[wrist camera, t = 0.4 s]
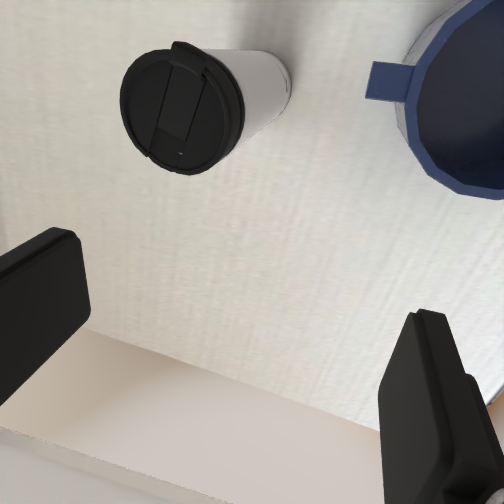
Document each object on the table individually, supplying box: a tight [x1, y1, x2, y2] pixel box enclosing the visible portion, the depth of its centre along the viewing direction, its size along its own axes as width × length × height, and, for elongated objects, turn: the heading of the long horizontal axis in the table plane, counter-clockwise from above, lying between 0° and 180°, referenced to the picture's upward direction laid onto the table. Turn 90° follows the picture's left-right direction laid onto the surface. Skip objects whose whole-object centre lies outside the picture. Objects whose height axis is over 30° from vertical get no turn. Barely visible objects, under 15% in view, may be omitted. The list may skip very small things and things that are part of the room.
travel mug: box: [120, 41, 291, 176], centre depth 26 cm, size 6×7×20 cm
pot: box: [365, 0, 504, 200], centre depth 27 cm, size 14×19×8 cm
